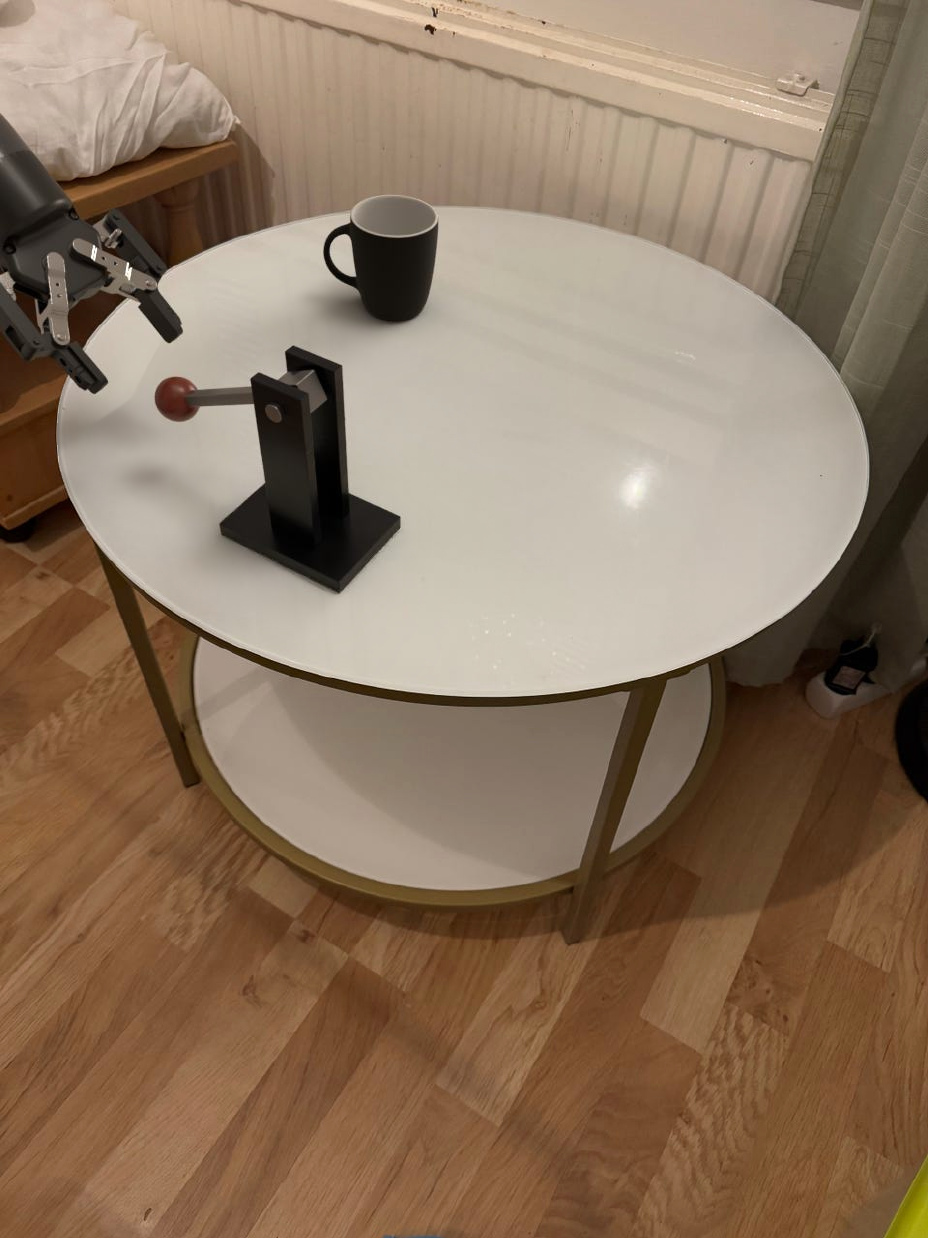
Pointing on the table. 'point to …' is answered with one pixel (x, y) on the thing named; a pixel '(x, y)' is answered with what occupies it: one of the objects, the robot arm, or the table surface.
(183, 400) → the lever
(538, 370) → the table surface
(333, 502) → the bracket
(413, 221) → the mug
